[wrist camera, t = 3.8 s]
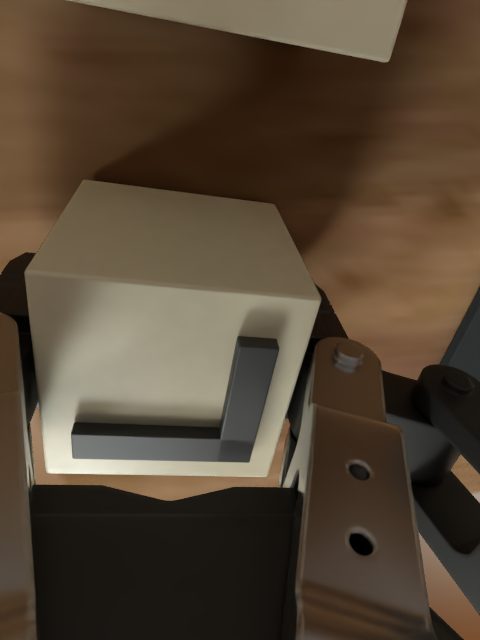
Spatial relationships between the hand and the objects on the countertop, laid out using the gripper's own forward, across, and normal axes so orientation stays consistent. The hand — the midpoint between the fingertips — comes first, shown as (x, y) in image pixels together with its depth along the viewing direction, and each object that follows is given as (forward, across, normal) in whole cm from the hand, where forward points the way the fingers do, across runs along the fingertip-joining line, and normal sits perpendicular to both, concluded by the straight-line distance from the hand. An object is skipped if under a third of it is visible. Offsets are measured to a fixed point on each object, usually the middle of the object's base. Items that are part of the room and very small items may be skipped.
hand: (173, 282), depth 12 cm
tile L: (0, 0, 0) cm, 0 cm away
